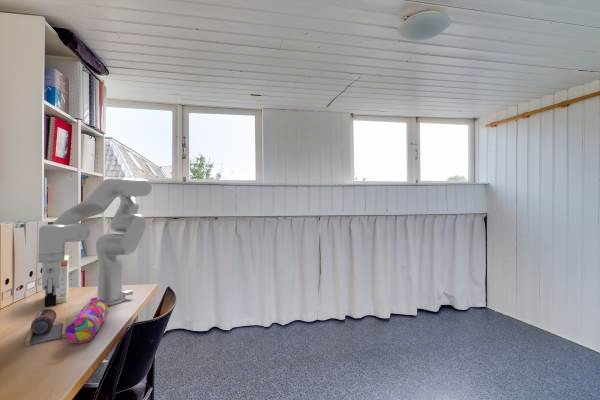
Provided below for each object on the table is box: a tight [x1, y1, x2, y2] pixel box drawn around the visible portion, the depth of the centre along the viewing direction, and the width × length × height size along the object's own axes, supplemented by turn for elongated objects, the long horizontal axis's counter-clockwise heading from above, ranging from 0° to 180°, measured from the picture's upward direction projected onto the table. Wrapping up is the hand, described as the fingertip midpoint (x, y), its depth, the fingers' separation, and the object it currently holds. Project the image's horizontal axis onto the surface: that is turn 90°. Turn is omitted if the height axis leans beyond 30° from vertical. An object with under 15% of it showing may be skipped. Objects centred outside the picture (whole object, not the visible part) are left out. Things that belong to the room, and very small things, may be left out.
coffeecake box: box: [56, 254, 70, 304], centre depth 135 cm, size 15×7×20 cm, turn 36°
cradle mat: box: [24, 319, 68, 347], centre depth 100 cm, size 10×14×2 cm
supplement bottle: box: [30, 308, 57, 334], centre depth 102 cm, size 6×6×11 cm
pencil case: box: [65, 296, 109, 344], centre depth 103 cm, size 22×9×9 cm, turn 26°
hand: (50, 306), depth 107 cm, fingers closed
